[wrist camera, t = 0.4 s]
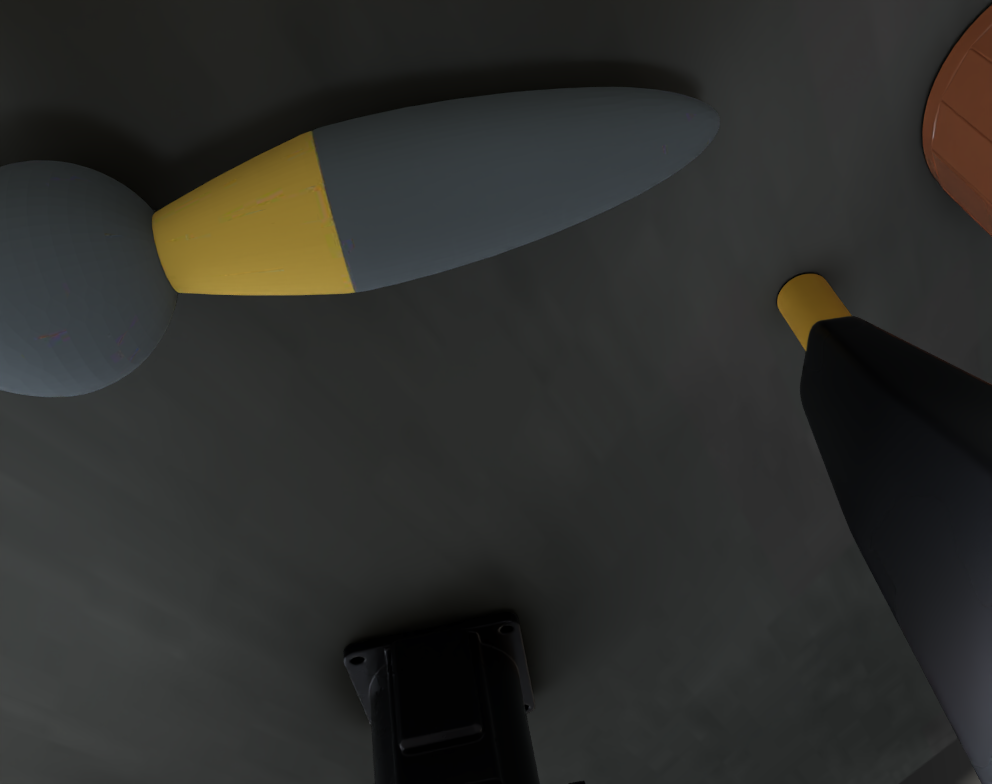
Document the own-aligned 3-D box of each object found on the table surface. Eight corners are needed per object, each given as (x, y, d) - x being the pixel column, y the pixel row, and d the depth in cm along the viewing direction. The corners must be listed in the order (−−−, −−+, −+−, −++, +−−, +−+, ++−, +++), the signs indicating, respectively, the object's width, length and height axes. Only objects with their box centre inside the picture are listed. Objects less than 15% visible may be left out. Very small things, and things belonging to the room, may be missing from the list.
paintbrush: (689, -65, 20) (776, 19, 17) (705, 143, 24) (780, 252, 20) (-187, 182, 21) (-294, 316, 17) (-52, 350, 24) (-117, 493, 20)
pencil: (825, 311, 28) (946, 483, 23) (773, 321, 28) (882, 496, 22) (831, 266, 27) (959, 437, 21) (777, 277, 27) (892, 450, 21)
